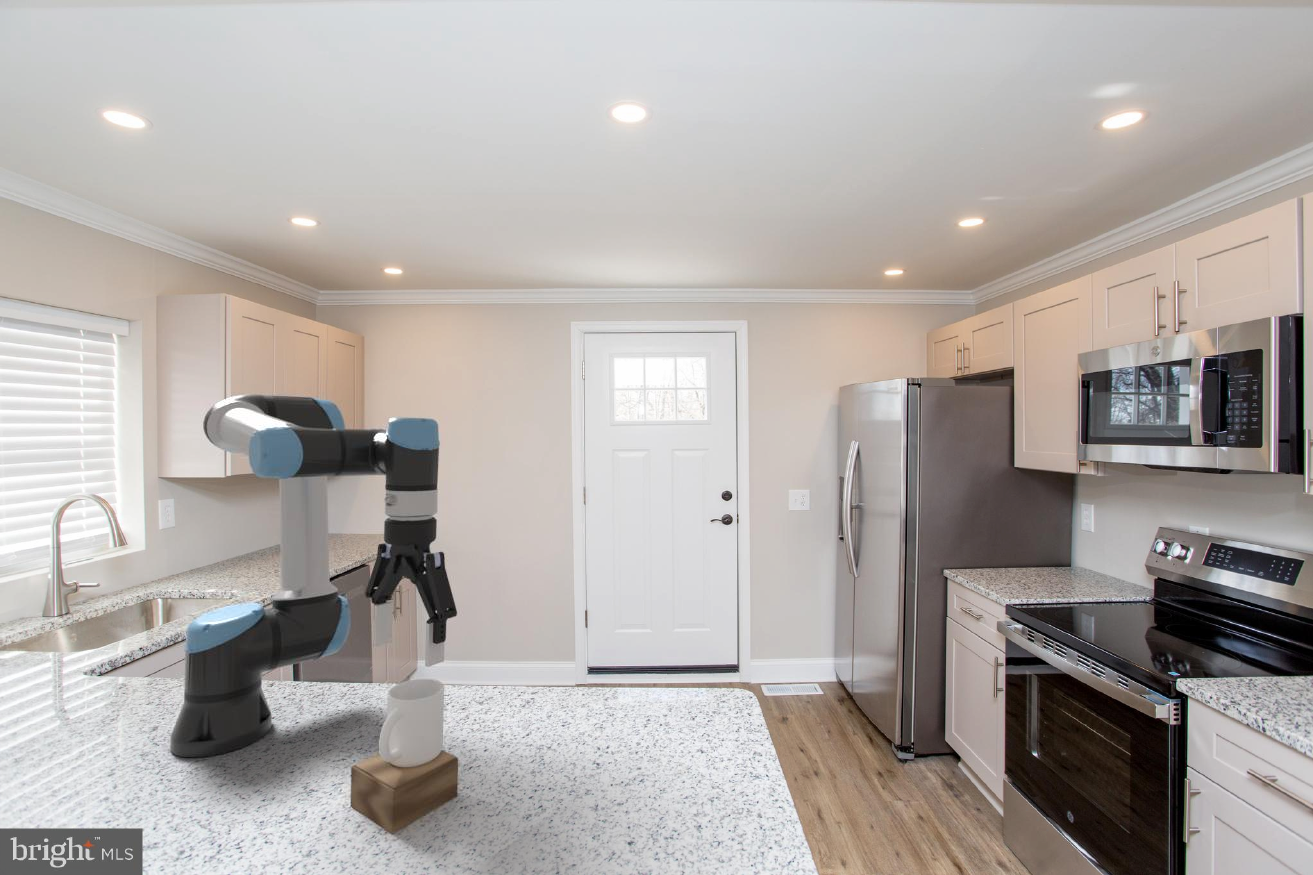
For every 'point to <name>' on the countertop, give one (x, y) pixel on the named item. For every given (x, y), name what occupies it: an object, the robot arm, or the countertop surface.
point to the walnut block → (402, 789)
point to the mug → (413, 723)
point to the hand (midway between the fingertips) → (407, 653)
